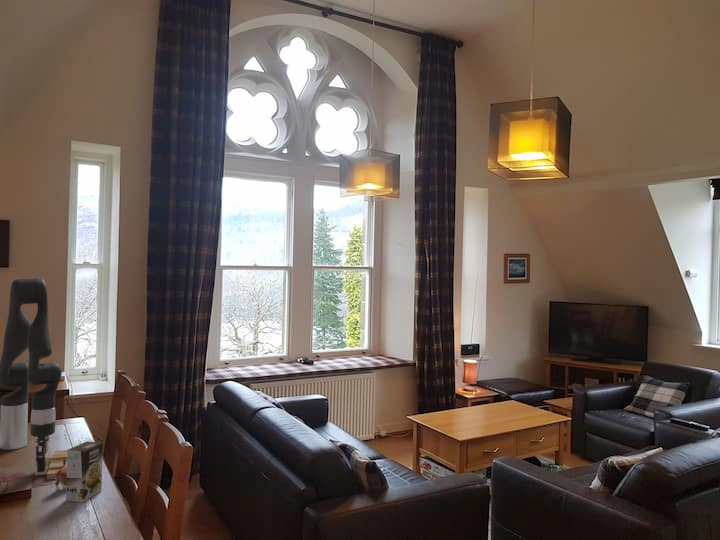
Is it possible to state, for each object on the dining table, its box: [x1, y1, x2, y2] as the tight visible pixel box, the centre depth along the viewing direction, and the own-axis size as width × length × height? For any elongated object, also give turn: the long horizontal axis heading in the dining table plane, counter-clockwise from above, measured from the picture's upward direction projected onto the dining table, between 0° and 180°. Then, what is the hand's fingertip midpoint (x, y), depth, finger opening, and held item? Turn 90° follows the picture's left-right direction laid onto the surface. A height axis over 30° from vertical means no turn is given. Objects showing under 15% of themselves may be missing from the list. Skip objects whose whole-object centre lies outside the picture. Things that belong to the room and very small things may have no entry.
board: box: [46, 449, 68, 480], centre depth 199 cm, size 24×6×2 cm, turn 24°
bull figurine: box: [54, 467, 67, 492], centre depth 183 cm, size 4×13×8 cm, turn 161°
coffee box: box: [65, 441, 104, 503], centre depth 175 cm, size 9×6×16 cm
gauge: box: [34, 452, 68, 476], centre depth 194 cm, size 4×10×6 cm, turn 114°
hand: (41, 469), depth 192 cm, fingers open, 4 cm apart
